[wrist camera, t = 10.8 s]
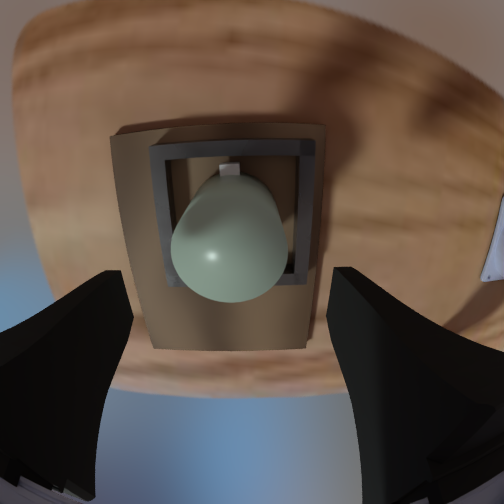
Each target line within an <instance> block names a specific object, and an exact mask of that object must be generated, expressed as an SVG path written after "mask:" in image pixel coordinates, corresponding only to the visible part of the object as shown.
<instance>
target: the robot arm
mask: <svg viewBox="0 0 504 504" xmlns="http://www.w3.org/2000/svg"><path fill="white" fill-rule="evenodd" d="M480 278H481V280H482V281H483V282H487V281H495V280H502V279H504V196H503V198H502V202H501V207H500V211H499V216H498V220H497V224H496V228H495V232H494V235H493V239H492V242H491V246H490V249H489V253H488V256H487V259H486V262H485V265H484V268H483V271H482V274H481V277H480ZM133 318H134V316H133V312H132V309H131V306H130V302H129V299H128V295H127V292H126V288H125V285H124V281H123V277H122V273H121V270H106V271H104V272H101V273H100V274H98V275H96V276H94V277H93V278H91V279H89V280H88V281H86V282H85V283H83V284H82V285H80V286H79V287H77V288H76V289H74V290H73V291H71V292H70V293H68V294H67V295H65V296H64V297H62V298H61V299H59V300H57V301H56V302H54V303H53V304H51V305H50V306H48V307H47V308H45V309H43V310H42V311H40V312H39V313H37V314H35V315H34V316H32V317H30V318H29V319H27V320H25V321H23V322H21V323H19V324H17V325H16V326H14V327H12V328H9V329H7V330H5V331H3V332H1V333H0V504H82V503H79V502H77V501H74V500H71V499H69V498H66V497H64V496H62V495H59V494H57V493H55V492H53V491H51V490H52V489H53V490H55V491H58V492H60V493H63V492H64V493H66V494H68V495H71V496H74V497H76V498H79V499H81V500H84V501H91V500H93V499H94V498H95V462H96V449H97V441H98V434H99V428H100V421H101V417H102V412H103V408H104V403H105V399H106V396H107V393H108V389H109V387H110V384H111V382H112V379H113V376H114V374H115V371H116V369H117V366H118V364H119V361H120V359H121V356H122V354H123V351H124V349H125V346H126V344H127V341H128V338H129V334H130V331H131V326H132V322H133ZM326 318H327V323H328V328H329V333H330V337H331V341H332V344H333V347H334V350H335V353H336V356H337V359H338V362H339V365H340V368H341V371H342V374H343V377H344V380H345V383H346V386H347V389H348V392H349V395H350V399H351V403H352V407H353V412H354V418H355V424H356V429H357V437H358V444H359V451H360V461H361V473H362V496H363V497H362V498H363V501H362V504H504V352H502V351H499V350H496V349H493V348H490V347H487V346H484V345H481V344H479V343H476V342H474V341H471V340H469V339H467V338H464V337H462V336H460V335H458V334H455V333H453V332H451V331H449V330H447V329H445V328H443V327H442V326H440V325H438V324H436V323H434V322H432V321H431V320H429V319H427V318H425V317H424V316H422V315H420V314H419V313H417V312H416V311H414V310H413V309H411V308H410V307H408V306H406V305H405V304H403V303H402V302H401V301H399V300H398V299H396V298H395V297H393V296H392V295H391V294H389V293H388V292H386V291H385V290H384V289H382V288H381V287H380V286H378V285H377V284H375V283H374V282H373V281H371V280H370V279H369V278H367V277H366V276H364V275H363V274H362V273H360V272H359V271H357V270H356V269H354V268H352V267H334V269H333V276H332V283H331V289H330V296H329V302H328V308H327V314H326Z"/></svg>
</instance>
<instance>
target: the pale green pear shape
mask: <svg viewBox="0 0 504 504" xmlns="http://www.w3.org/2000/svg"><path fill="white" fill-rule="evenodd" d="M219 169H220V174H217V175H215V176H213V177H211V178H209V179H208V180H207V181H205V182H204V183H203V184H202V185H201V186H200V188H199V189H198V190H197V192H196V194H195V195H194V197H193V199H192V200H191V202H190V204H189V205H188V207H187V209H186V210H185V212H184V214H183V216H182V217H181V219H180V221H179V223H178V224H177V226H176V228H175V230H174V233H173V236H172V241H171V258H172V261H173V265H174V267H175V270H176V272H177V273H178V275H179V277H180V278H181V279H182V281H183V282H184V283H185V284H186V285H187V286H188V287H189V288H191V289H192V290H193V291H195V292H196V293H198V294H199V295H201V296H203V297H206V298H208V299H211V300H215V301H219V302H229V303H234V302H242V301H247V300H250V299H254V298H256V297H258V296H260V295H262V294H263V293H265V292H267V291H268V290H269V289H270V288H272V287H273V286H274V285H275V284H276V282H277V281H278V280H279V278H280V277H281V275H282V273H283V272H284V269H285V267H286V263H287V259H288V245H287V240H286V236H285V233H284V229H283V226H282V222H281V219H280V216H279V212H278V209H277V206H276V202H275V199H274V197H273V195H272V193H271V191H270V190H269V188H268V187H267V186H266V185H265V184H264V183H263V182H262V181H261V180H259V179H258V178H256V177H255V176H253V175H250V174H248V173H244V172H240V162H227V163H220V164H219Z"/></svg>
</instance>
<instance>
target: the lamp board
mask: <svg viewBox="0 0 504 504" xmlns="http://www.w3.org/2000/svg"><path fill="white" fill-rule="evenodd" d="M226 138H309V139H313V140H315V141H316V150H315V176H314V196H313V213H312V228H311V241H310V254H309V265H308V276H307V285H282V286H273V287H272V288H270V289H269V290H268V291H267V292H265V293H263V294H262V295H260V296H258V297H256V298H254V299H250V300H247V301H242V302H234V303H229V302H219V301H215V300H211V299H208V298H206V297H203V296H201V295H199V294H198V293H196V292H195V291H193V290H192V289H191V288H189V287H168V284H167V279H166V273H165V268H164V262H163V256H162V250H161V244H160V238H159V231H158V225H157V218H156V210H155V203H154V195H153V186H152V177H151V167H150V157H149V146H151V145H154V144H158V143H168V142H179V141H191V140H206V139H226ZM110 145H111V155H112V163H113V172H114V179H115V186H116V193H117V199H118V206H119V211H120V217H121V223H122V228H123V233H124V238H125V243H126V248H127V252H128V257H129V261H130V266H131V270H132V274H133V278H134V282H135V286H136V290H137V294H138V298H139V301H140V305H141V309H142V312H143V316H144V319H145V323H146V326H147V329H148V332H149V336H150V339H151V342H152V345H153V348H154V349H172V350H199V351H257V350H285V349H303V348H306V344H307V337H308V330H309V323H310V316H311V308H312V300H313V292H314V284H315V275H316V265H317V256H318V245H319V234H320V222H321V209H322V194H323V177H324V156H325V125H322V124H302V123H228V124H208V125H194V126H182V127H172V128H163V129H154V130H146V131H139V132H132V133H126V134H119V135H114V136H110ZM227 162H240V172H244V173H248V174H250V175H253V176H255V177H256V178H258V179H259V180H261V181H262V182H263V183H264V184H265V185H266V186H267V187H268V188H269V190H270V191H271V193H272V195H273V197H274V199H275V202H276V206H277V209H278V212H279V216H280V219H281V222H282V226H283V229H284V233H285V236H286V240H287V245H288V259H287V263H286V264H292V248H293V228H294V204H295V172H296V156H289V155H254V156H219V157H200V158H184V159H172V160H171V171H172V182H173V192H174V202H175V211H176V220H177V224H178V223H179V221H180V219H181V217H182V216H183V214H184V212H185V210H186V209H187V207H188V205H189V204H190V202H191V200H192V199H193V197H194V195H195V194H196V192H197V190H198V189H199V188H200V186H201V185H202V184H203V183H204V182H205V181H207V180H208V179H209V178H211V177H213V176H215V175H217V174H220V169H219V164H220V163H227Z"/></svg>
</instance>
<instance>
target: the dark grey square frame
mask: <svg viewBox="0 0 504 504" xmlns="http://www.w3.org/2000/svg"><path fill="white" fill-rule="evenodd" d="M315 150H316V141H315V140H313V139H309V138H226V139H206V140H191V141H179V142H168V143H158V144H154V145H151V146H149V157H150V167H151V177H152V186H153V195H154V203H155V210H156V218H157V225H158V231H159V238H160V244H161V250H162V256H163V262H164V268H165V273H166V279H167V284H168V287H188V286H187V285H186V284H185V283H184V282H183V281H182V279H181V278H180V277H179V275H178V273H177V272H176V270H175V267H174V265H173V261H172V258H171V241H172V236H173V233H174V230H175V228H176V226H177V220H176V211H175V202H174V192H173V182H172V171H171V160H172V159H184V158H200V157H219V156H254V155H289V156H296V172H295V204H294V228H293V248H292V264H286V267H285V269H284V272H283V273H282V275H281V277H280V278H279V280H278V281H277V282H276V284H275V285H274V286H282V285H307V276H308V265H309V254H310V241H311V228H312V213H313V196H314V176H315Z"/></svg>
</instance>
